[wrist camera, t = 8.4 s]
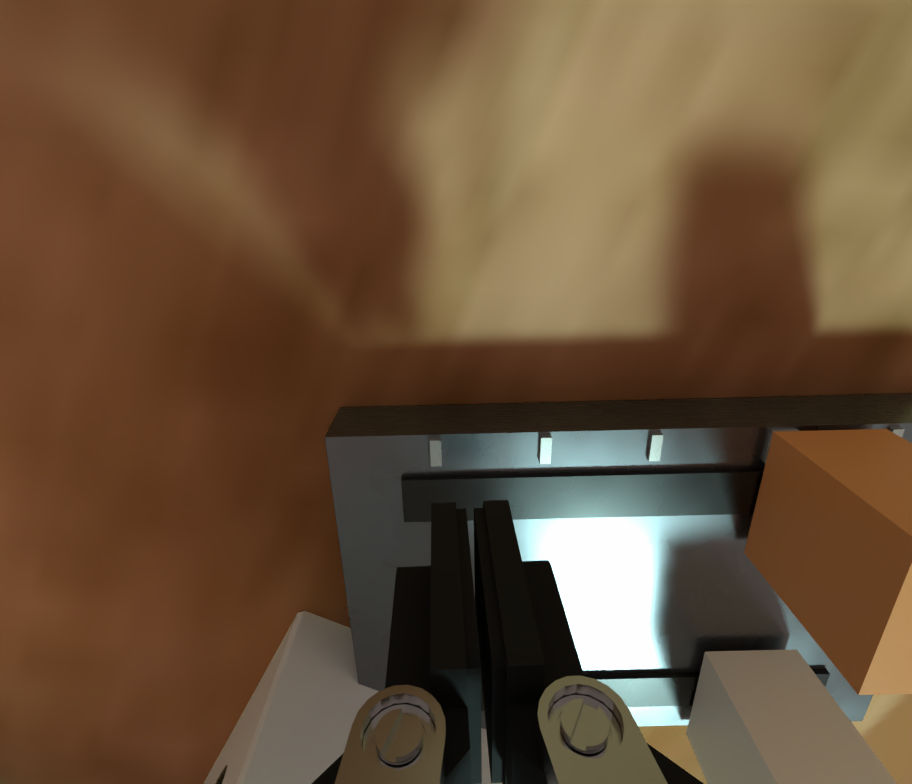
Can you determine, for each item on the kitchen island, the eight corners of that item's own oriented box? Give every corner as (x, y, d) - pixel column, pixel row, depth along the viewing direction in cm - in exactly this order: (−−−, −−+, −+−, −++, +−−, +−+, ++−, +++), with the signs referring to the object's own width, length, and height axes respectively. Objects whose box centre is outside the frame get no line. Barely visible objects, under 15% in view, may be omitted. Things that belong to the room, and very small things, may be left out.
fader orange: (773, 431, 13) (934, 553, 9) (886, 428, 13) (1104, 549, 9) (744, 552, 15) (868, 708, 10) (845, 550, 15) (1013, 705, 10)
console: (340, 407, 15) (323, 440, 13) (923, 393, 15) (995, 424, 13) (372, 682, 20) (363, 738, 18) (824, 671, 20) (866, 726, 18)
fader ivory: (704, 651, 16) (799, 824, 12) (796, 649, 16) (925, 821, 12) (686, 733, 18) (764, 914, 13) (770, 731, 18) (876, 912, 13)
